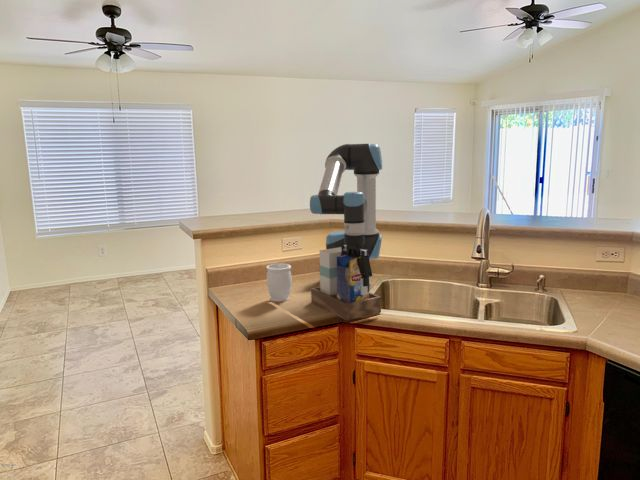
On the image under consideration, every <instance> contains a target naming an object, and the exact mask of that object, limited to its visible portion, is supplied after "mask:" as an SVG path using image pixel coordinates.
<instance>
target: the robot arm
mask: <svg viewBox="0 0 640 480" xmlns="http://www.w3.org/2000/svg"><path fill="white" fill-rule="evenodd" d="M324 168H325V170H324V174H323V176H322V180H321V183H320V187H319V191H318V194H313V195H311V196H310V199H309V211H310V212H311V213H312V214H313V215H343V228H344V229H343V230H340V231H338V230H337V231H334V232H333V231H332V232H330V233H328V234H327V235H326V239H325V249H332V248H339V247H341V256H342V255H350V256H353V257H355V258H357V257H360V256H361V258H357V264H358V267H359V270H360V273H361V275H362V277H361V278H360V281H361V295H365V294H368V277H369V278H370V277H373V272H372V265H371V263H370V260H376V259H378V258H379V257H380V253H381V252H380V251H381V247H382V239H383V235H382V234H380V231H379V230H378V228H377V225H376V224H377V223H376V219H377V209H376V207H377V204H376V203H377V189H376V187H377V186H376V185H377V183H376V182H377V181H376V180H377V179H376V178H377V177H378V176H379V174H380V171H381V170H383V157H382V151H381V148H380V145H378V144H376V143H355V144H354V143H346V144H342V145H339V146H338V147H336V148H334V149H333V150H332V151H331V152H330V153H329V154H328V155H327V157H326V159H325V163H324ZM345 171H353V175H354V176H355V177H356V187H357V188H356V191H347V192H345V193H343V194H340V195H339V194H338V192H339V187H340V184H341V181H342V175H343V173H344V172H345ZM368 254H369V257H368ZM364 273H365V274H364ZM368 273H369V274H368Z"/></svg>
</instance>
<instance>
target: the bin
mask: <svg viewBox="0 0 640 480" xmlns="http://www.w3.org/2000/svg"><path fill="white" fill-rule="evenodd" d="M310 299H311V303H312V304H314V305H315V306H318V307H319V308H321V309H323V310H325V311H327V312H329V313H331V314H333V315H335V316H337V317H338V318H341V319H343V320H345V321H348V322H346V324H349V323H352V322H357V321H360V320H364V319H367V318H368V319H369V318H372V317H376V316H380V315H381V312H382V296H379V294H378V295H377V294H376V293H373V292H370V291H369V299H365V300H361V301H356V302H352V303H348V304H347V303H345V302H343V301H341V300H339V299H337V294H333V295H328V294H325V293H323V292H321V291H320V286H316V287H315V286H314V287H312V288H311V287H310ZM374 314H375V315H374ZM370 315H371V316H370ZM366 316H367V317H366ZM362 317H363V318H362Z"/></svg>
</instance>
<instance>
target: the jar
mask: <svg viewBox="0 0 640 480" xmlns="http://www.w3.org/2000/svg"><path fill="white" fill-rule="evenodd" d="M291 269H292V265H290V264H288V263H282V262H281V263H280V262H279V263H271V264H268V265H266V270H267V273H266V284H267V290H268V294H269V296H270V297H269V298H270V302H271V303H273V304H275V302H285V301H287V300H289V299H290V297H289V296H290V295H291V287H292V283H293V281H292V280H293V279H292V277H293V276H292V272H291Z"/></svg>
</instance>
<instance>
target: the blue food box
mask: <svg viewBox="0 0 640 480" xmlns="http://www.w3.org/2000/svg"><path fill="white" fill-rule="evenodd" d="M368 257H369V254H368ZM357 258H361V256H360V257H357ZM357 258H355V257H353V256H350V255H342V256H338V257H337V299H339V300H341V301H343V302H345V303H347V304H348V303H352V302H356V301H361V300H365V299H369V292H370V277H368V294H365V295H361V281H360V278H361V277H362V275H361V273H360V270H359V267H358V264H357ZM364 274H365V273H364ZM368 274H369V273H368Z"/></svg>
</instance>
